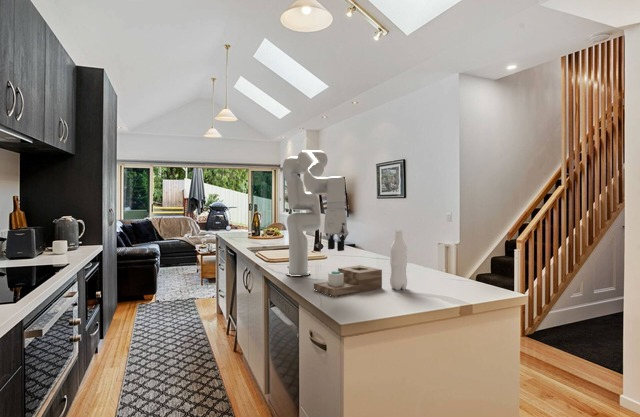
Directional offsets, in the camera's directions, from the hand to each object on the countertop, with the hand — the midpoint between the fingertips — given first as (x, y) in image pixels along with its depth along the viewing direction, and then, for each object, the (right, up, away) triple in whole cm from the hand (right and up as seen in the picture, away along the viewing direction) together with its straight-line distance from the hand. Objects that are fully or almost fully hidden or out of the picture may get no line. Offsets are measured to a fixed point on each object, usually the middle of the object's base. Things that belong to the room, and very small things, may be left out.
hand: (336, 249), depth 160 cm
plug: (0, -17, 0) cm, 17 cm away
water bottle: (+27, -18, +5) cm, 33 cm away
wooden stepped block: (+5, -17, +4) cm, 19 cm away
